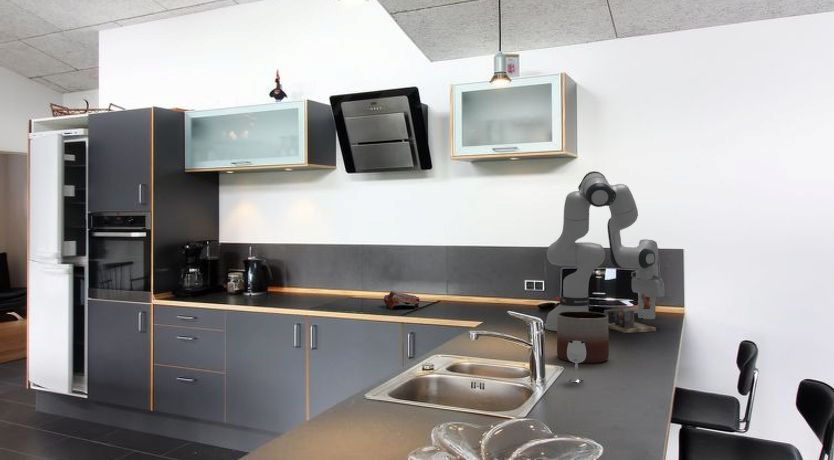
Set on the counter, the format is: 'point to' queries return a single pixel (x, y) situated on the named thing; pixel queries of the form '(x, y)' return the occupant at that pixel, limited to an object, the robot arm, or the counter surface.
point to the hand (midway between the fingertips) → (647, 304)
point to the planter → (583, 334)
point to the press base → (636, 326)
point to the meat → (400, 299)
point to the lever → (643, 310)
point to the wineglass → (576, 355)
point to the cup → (648, 314)
